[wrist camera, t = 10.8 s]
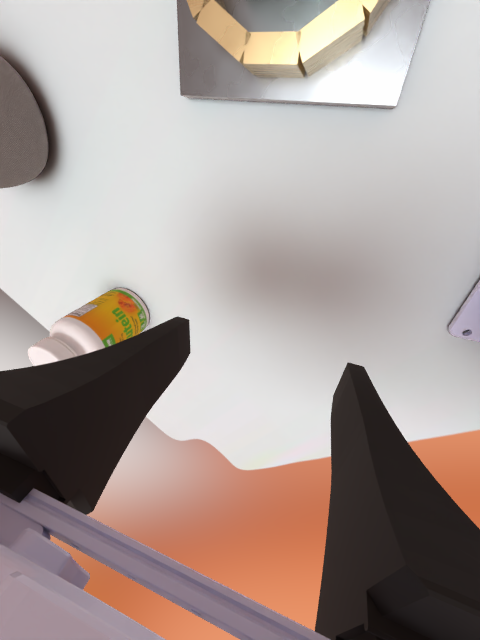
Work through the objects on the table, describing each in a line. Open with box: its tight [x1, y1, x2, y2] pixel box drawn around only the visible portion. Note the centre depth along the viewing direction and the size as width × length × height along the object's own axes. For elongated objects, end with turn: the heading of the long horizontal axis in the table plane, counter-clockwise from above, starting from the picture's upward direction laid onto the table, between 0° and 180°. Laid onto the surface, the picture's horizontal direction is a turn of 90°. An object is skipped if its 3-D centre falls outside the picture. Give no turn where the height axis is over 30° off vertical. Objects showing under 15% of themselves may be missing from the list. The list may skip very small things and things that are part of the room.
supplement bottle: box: [28, 288, 149, 366], centre depth 24 cm, size 5×5×10 cm
